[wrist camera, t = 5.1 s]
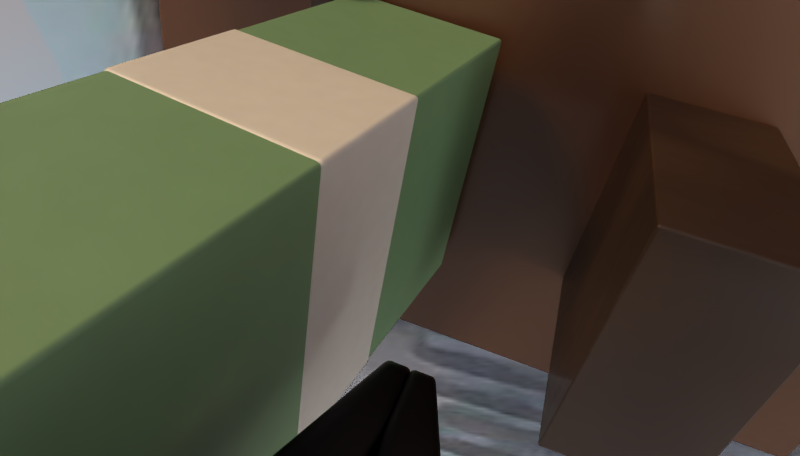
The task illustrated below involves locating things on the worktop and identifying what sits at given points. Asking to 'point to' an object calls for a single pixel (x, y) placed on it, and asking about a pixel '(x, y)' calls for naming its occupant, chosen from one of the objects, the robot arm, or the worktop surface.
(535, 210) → the walnut board
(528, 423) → the worktop surface
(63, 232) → the block
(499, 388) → the worktop surface
